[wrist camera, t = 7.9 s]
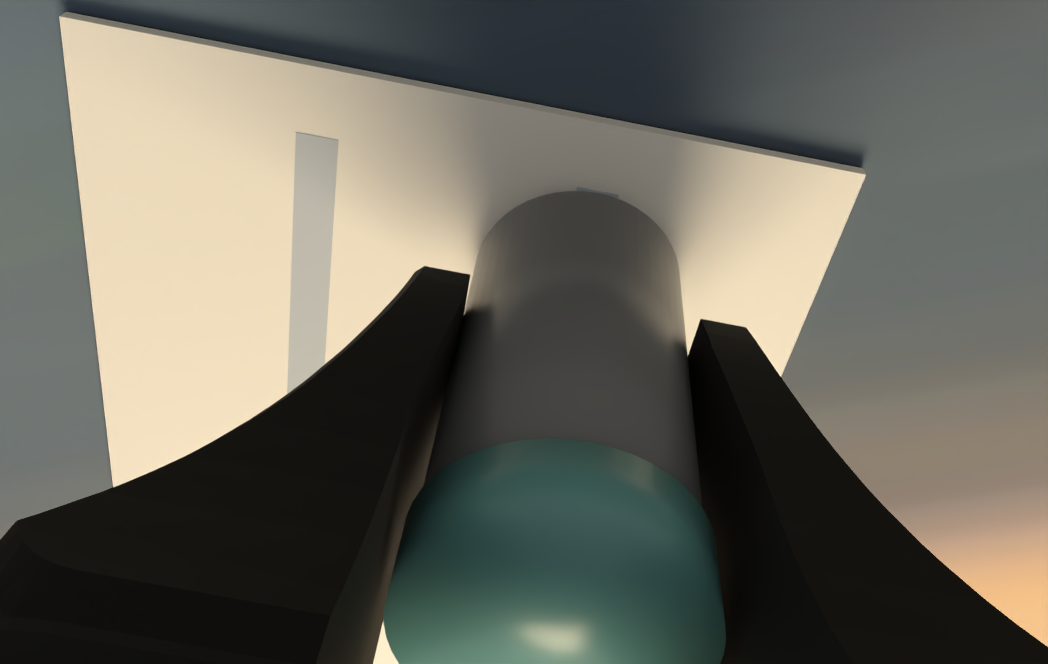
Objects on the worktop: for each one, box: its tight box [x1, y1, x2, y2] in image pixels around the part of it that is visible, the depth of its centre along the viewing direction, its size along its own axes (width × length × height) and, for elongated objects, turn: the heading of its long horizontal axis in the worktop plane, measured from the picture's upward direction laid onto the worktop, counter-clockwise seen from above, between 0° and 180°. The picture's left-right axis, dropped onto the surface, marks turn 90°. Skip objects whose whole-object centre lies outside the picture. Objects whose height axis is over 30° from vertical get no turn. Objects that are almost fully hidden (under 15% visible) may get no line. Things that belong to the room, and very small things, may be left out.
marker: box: [384, 191, 726, 664], centre depth 12 cm, size 3×3×6 cm
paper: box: [59, 12, 866, 664], centre depth 17 cm, size 13×11×1 cm
